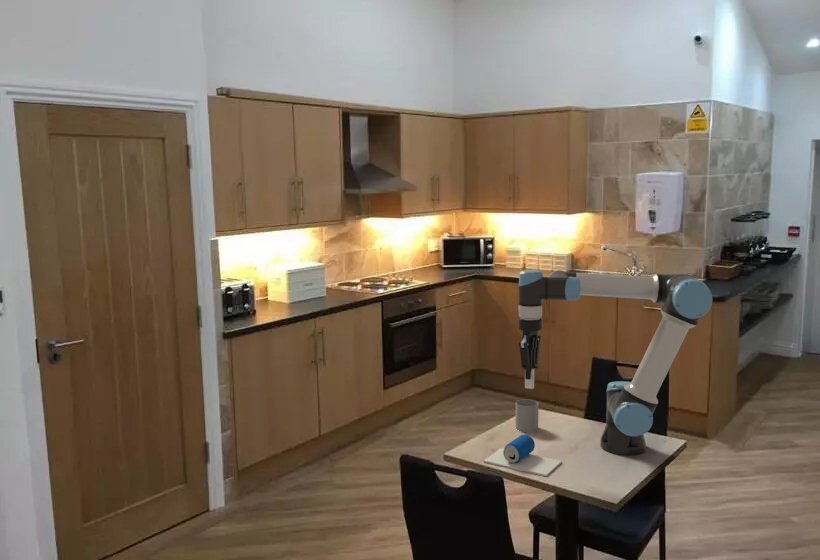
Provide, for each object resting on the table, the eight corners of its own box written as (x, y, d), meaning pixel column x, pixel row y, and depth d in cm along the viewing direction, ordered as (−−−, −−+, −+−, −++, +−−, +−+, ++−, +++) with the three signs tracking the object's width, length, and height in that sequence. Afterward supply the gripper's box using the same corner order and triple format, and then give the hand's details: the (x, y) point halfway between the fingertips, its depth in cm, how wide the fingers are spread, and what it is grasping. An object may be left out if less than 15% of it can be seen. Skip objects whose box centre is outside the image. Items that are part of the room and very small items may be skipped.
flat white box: (561, 462, 236) (561, 461, 236) (546, 476, 225) (546, 474, 225) (501, 449, 247) (501, 447, 247) (483, 462, 237) (483, 460, 237)
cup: (539, 432, 264) (539, 406, 262) (517, 432, 264) (517, 406, 262) (536, 424, 272) (536, 399, 271) (514, 424, 272) (514, 399, 271)
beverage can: (522, 454, 245) (506, 465, 235) (515, 436, 245) (499, 447, 236) (538, 450, 241) (522, 461, 231) (531, 431, 242) (515, 442, 232)
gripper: (527, 313, 241) (526, 381, 244) (511, 320, 230) (510, 391, 233) (548, 315, 236) (547, 384, 240) (532, 322, 226) (532, 394, 229)
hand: (529, 387), depth 236 cm, fingers closed
